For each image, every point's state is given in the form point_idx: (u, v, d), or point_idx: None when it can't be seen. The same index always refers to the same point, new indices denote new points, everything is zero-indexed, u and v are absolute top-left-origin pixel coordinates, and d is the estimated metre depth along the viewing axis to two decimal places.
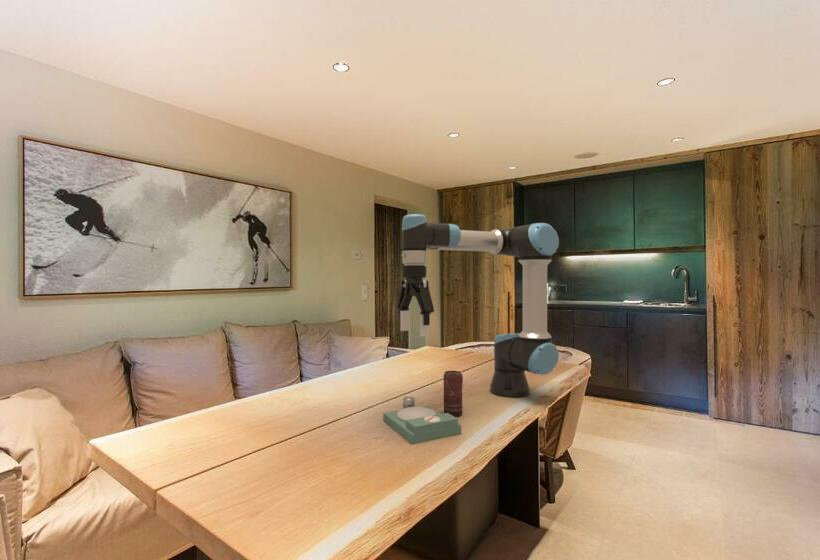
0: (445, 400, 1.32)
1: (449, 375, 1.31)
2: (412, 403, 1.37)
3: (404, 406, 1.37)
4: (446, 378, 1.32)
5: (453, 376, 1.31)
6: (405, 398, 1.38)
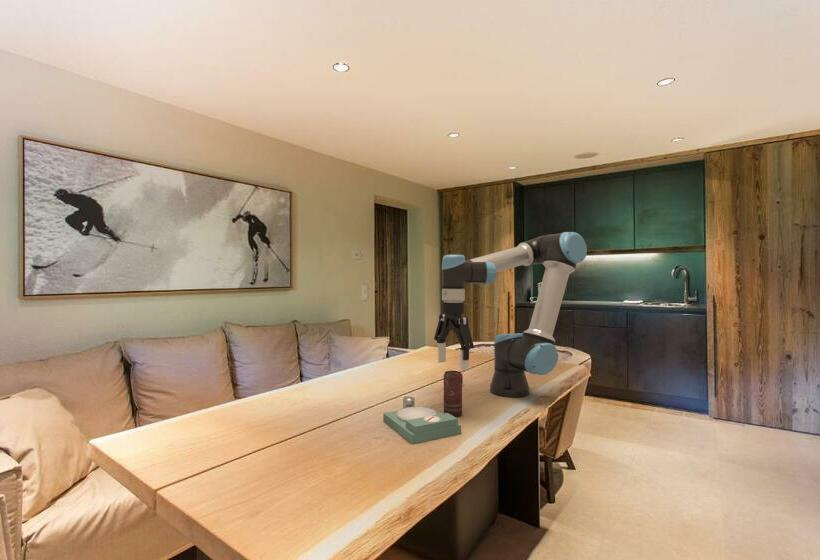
0: (445, 400, 1.32)
1: (449, 375, 1.31)
2: (412, 403, 1.37)
3: (404, 406, 1.37)
4: (446, 378, 1.32)
5: (453, 376, 1.31)
6: (405, 398, 1.38)
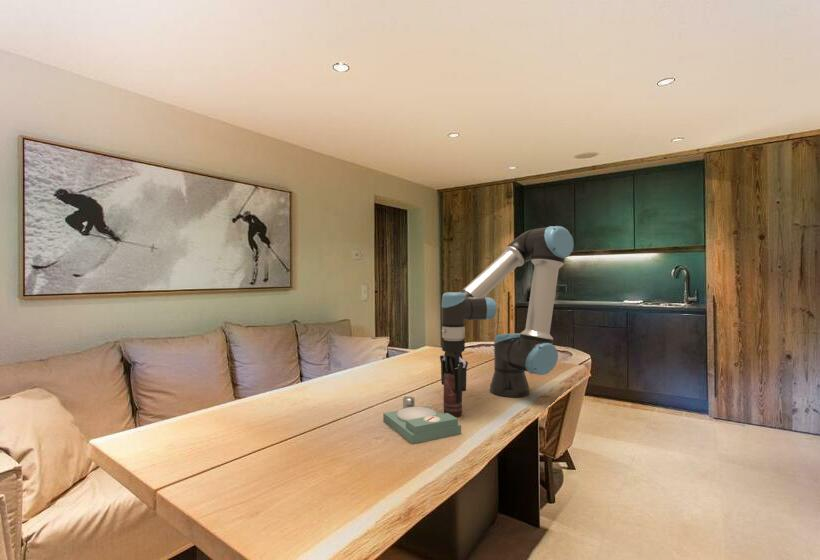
0: (445, 400, 1.32)
1: (449, 375, 1.31)
2: (412, 403, 1.37)
3: (404, 406, 1.37)
4: (446, 378, 1.32)
5: (453, 376, 1.31)
6: (405, 398, 1.38)
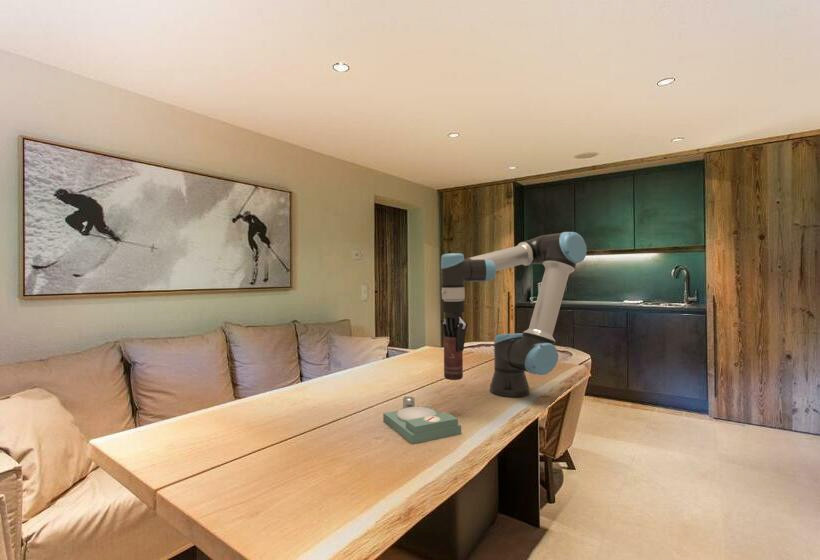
0: (445, 363, 1.32)
1: (449, 338, 1.31)
2: (412, 403, 1.37)
3: (404, 406, 1.37)
4: (446, 341, 1.32)
5: (453, 339, 1.31)
6: (405, 398, 1.39)
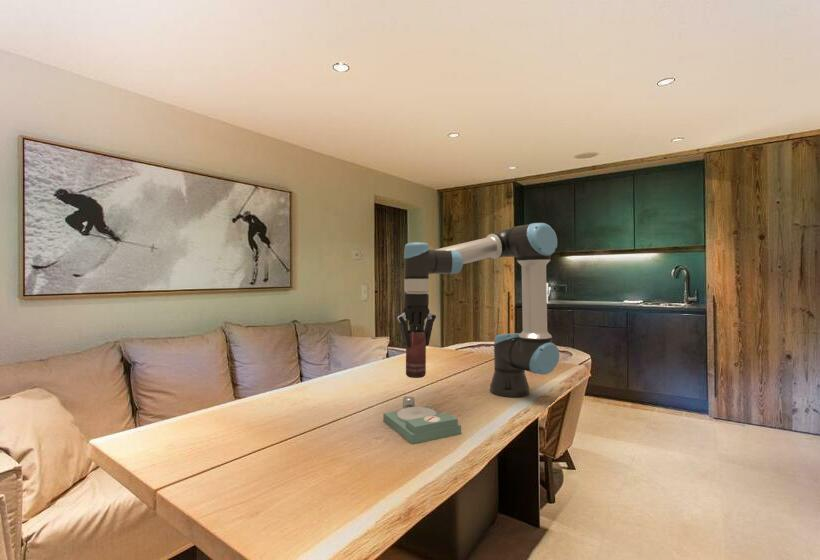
0: None
1: None
2: (412, 403, 1.37)
3: (404, 406, 1.37)
4: None
5: None
6: (405, 398, 1.38)
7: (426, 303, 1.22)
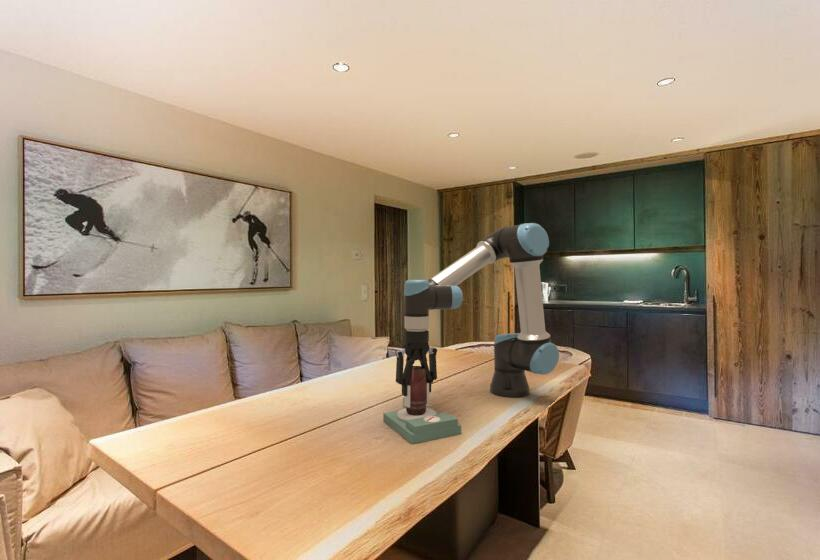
0: None
1: None
2: None
3: (404, 406, 1.37)
4: None
5: None
6: None
7: (426, 340, 1.23)
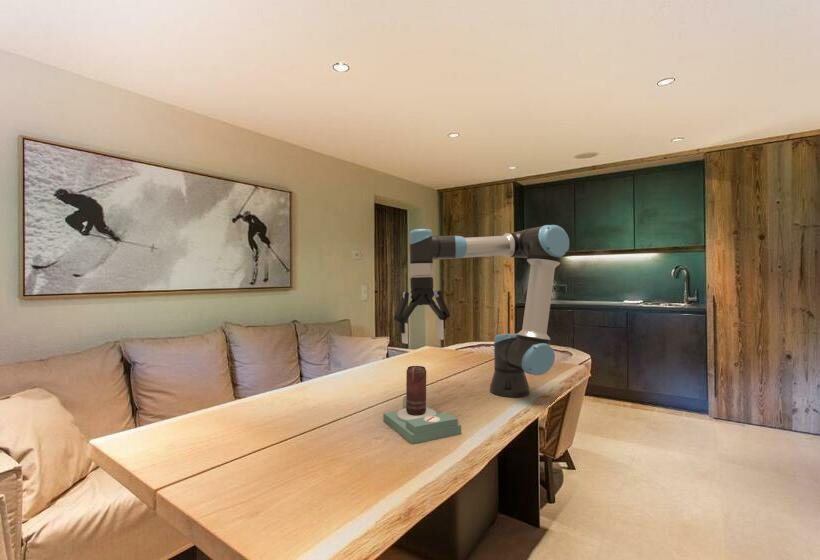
0: None
1: None
2: None
3: (404, 406, 1.37)
4: None
5: (407, 369, 1.25)
6: (405, 398, 1.38)
7: (431, 286, 1.31)
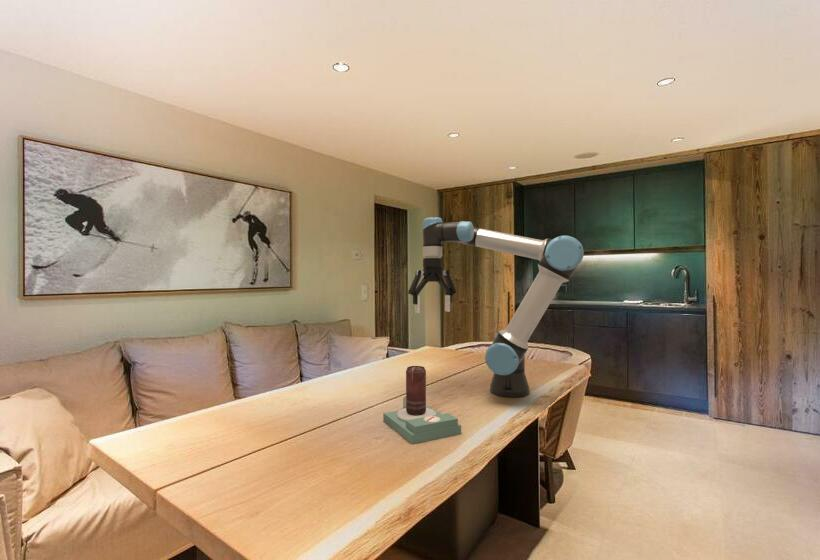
0: None
1: None
2: None
3: (404, 406, 1.37)
4: None
5: None
6: (405, 398, 1.38)
7: (440, 265, 1.55)
